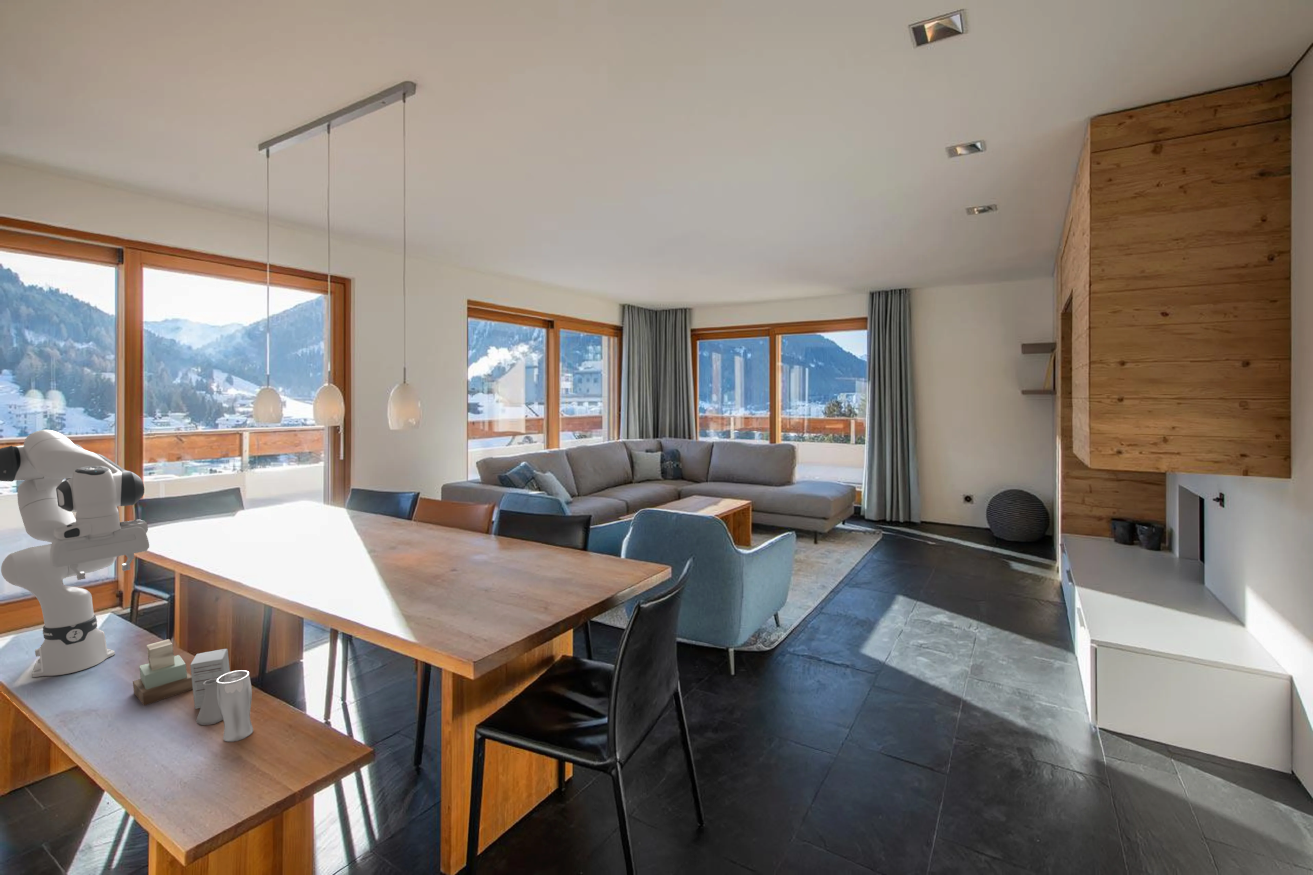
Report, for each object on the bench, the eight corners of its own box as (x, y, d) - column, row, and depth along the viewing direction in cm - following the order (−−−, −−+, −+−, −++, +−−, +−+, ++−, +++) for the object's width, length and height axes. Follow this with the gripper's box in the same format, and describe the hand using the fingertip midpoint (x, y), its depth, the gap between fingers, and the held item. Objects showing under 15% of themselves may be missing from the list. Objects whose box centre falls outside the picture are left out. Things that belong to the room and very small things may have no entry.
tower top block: (140, 679, 173) (139, 665, 172) (180, 667, 179) (179, 654, 179) (146, 689, 166) (144, 675, 166) (187, 677, 173) (185, 663, 173)
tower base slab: (134, 694, 172) (132, 681, 172) (182, 679, 180) (180, 666, 180) (144, 707, 165) (142, 693, 165) (193, 690, 174) (192, 677, 173)
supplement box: (200, 696, 169) (196, 653, 168) (232, 690, 172) (228, 647, 171) (193, 709, 162) (189, 664, 161) (227, 703, 165) (222, 658, 164)
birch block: (149, 665, 172) (146, 644, 172) (171, 659, 176) (169, 639, 175) (152, 670, 169) (149, 650, 168) (174, 664, 172) (172, 643, 172)
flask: (213, 727, 154) (209, 689, 153) (189, 724, 155) (185, 687, 154) (238, 711, 161) (234, 675, 160) (215, 709, 162) (211, 673, 161)
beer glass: (247, 741, 147) (241, 682, 146) (215, 744, 146) (209, 684, 145) (260, 725, 154) (255, 668, 153) (230, 728, 153) (224, 671, 152)
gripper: (143, 516, 178) (148, 563, 179) (45, 531, 162) (51, 582, 164) (149, 519, 174) (154, 566, 176) (49, 535, 158) (56, 586, 160)
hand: (104, 574), depth 169 cm, fingers open, 8 cm apart
